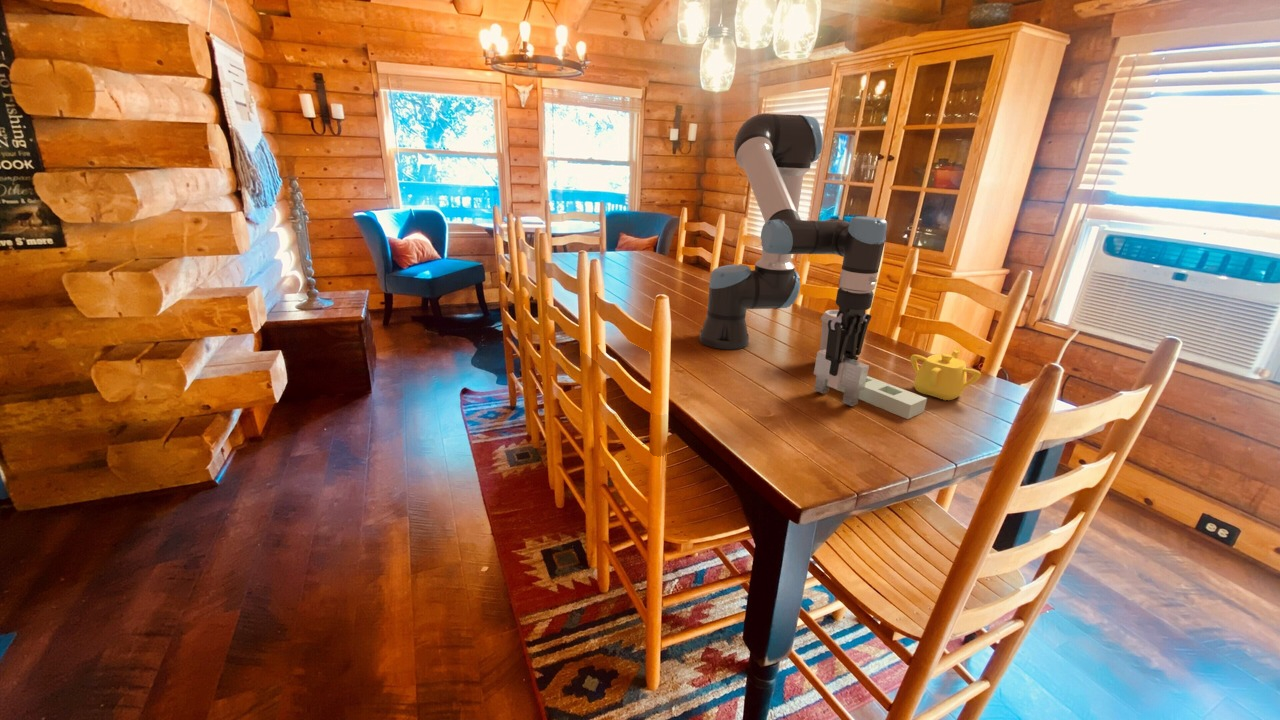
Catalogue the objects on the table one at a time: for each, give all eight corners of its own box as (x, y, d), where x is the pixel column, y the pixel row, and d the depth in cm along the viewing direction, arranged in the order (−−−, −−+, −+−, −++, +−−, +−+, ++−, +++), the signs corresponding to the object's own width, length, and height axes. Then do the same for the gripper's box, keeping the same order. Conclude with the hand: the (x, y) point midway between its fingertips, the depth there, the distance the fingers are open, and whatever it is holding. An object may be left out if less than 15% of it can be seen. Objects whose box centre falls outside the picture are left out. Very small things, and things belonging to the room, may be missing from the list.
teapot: (899, 380, 139) (908, 343, 136) (949, 382, 139) (959, 346, 135) (922, 402, 127) (932, 363, 123) (977, 405, 126) (988, 366, 122)
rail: (825, 384, 134) (827, 372, 133) (841, 379, 138) (844, 367, 137) (907, 419, 118) (910, 405, 117) (923, 411, 122) (927, 398, 120)
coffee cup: (844, 359, 152) (853, 310, 146) (853, 372, 143) (863, 319, 138) (810, 357, 153) (818, 307, 147) (817, 370, 144) (826, 317, 138)
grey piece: (811, 388, 130) (817, 351, 126) (818, 386, 131) (824, 349, 128) (853, 407, 121) (862, 368, 117) (860, 405, 122) (869, 365, 119)
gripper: (849, 297, 109) (830, 399, 118) (891, 288, 118) (870, 383, 127) (819, 289, 115) (803, 386, 124) (861, 281, 123) (843, 373, 132)
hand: (837, 385), depth 125 cm, fingers closed on grey piece, 3 cm apart
